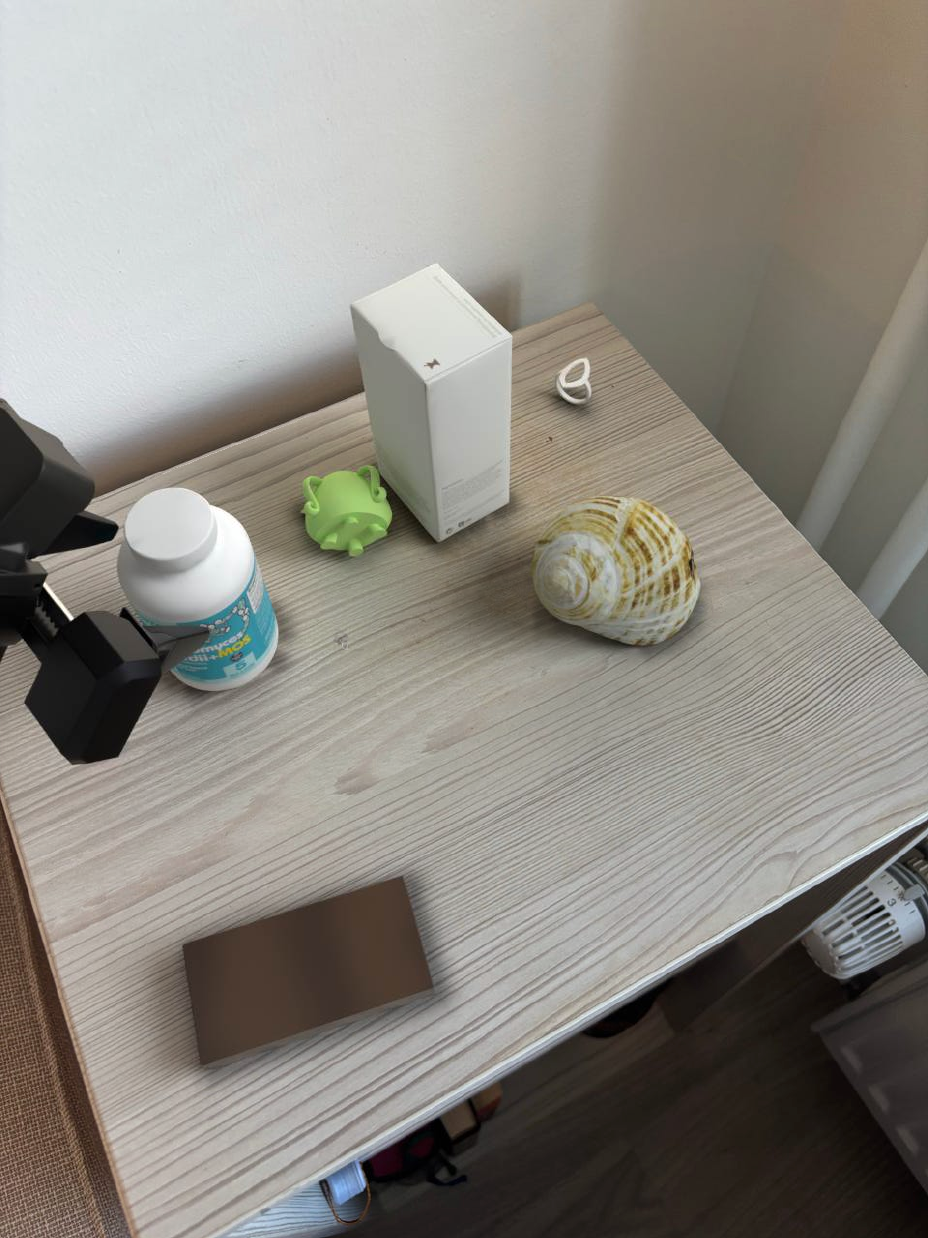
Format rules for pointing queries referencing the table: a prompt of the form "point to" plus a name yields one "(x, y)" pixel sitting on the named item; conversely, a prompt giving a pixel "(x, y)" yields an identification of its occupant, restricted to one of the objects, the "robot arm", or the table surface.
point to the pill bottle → (199, 585)
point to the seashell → (616, 570)
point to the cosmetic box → (437, 398)
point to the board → (305, 972)
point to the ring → (581, 381)
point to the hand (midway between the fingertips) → (159, 582)
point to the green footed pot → (346, 509)
